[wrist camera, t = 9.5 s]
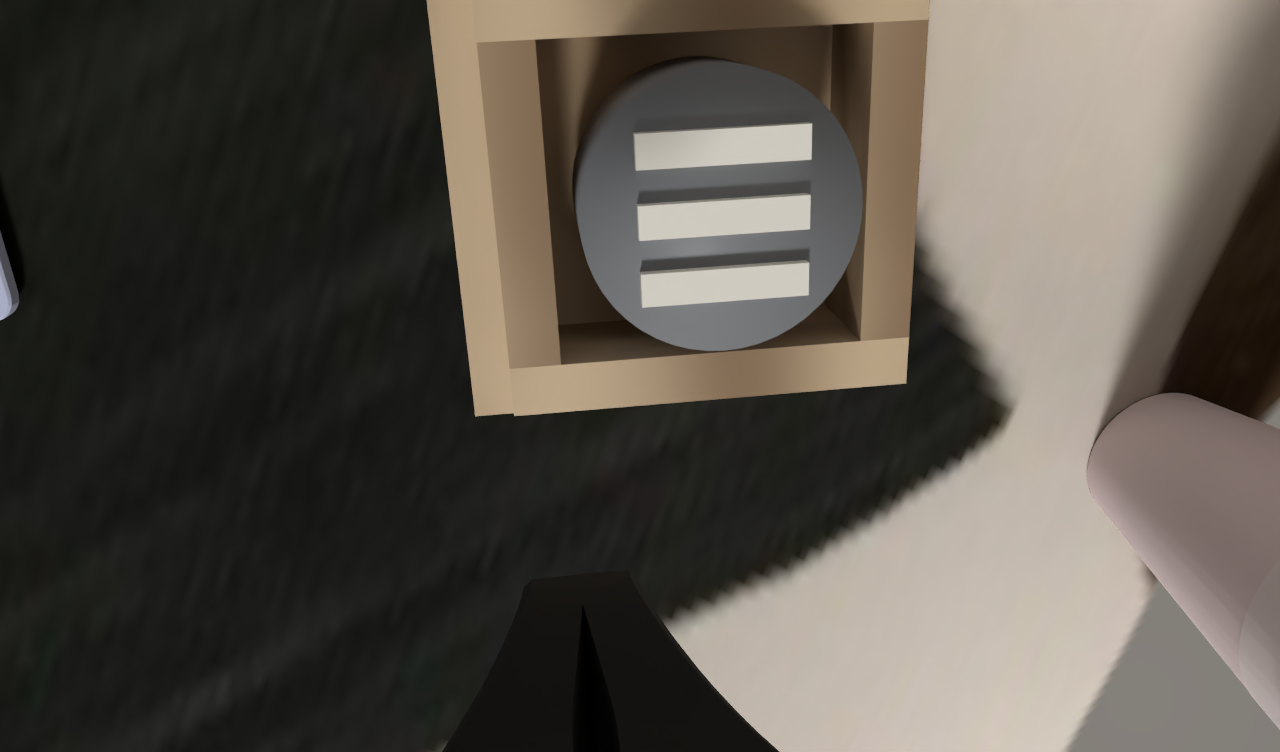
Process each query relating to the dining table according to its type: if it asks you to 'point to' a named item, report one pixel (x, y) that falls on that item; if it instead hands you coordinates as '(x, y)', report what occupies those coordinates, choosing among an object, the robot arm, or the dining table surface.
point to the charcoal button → (715, 202)
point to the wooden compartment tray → (544, 210)
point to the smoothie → (1203, 521)
